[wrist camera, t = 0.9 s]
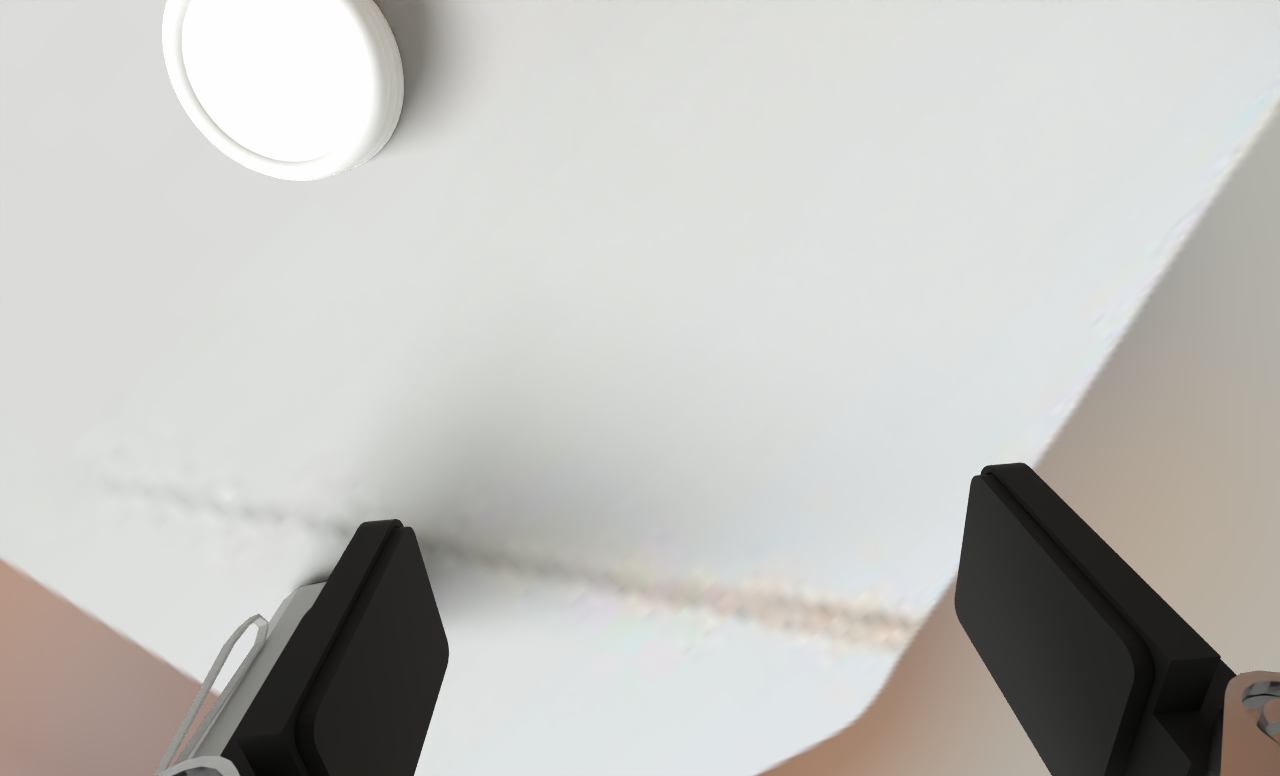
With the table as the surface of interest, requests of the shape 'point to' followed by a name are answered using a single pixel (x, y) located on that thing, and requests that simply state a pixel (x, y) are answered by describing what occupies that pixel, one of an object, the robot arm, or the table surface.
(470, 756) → the table surface
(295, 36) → the coaster
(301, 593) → the water bottle
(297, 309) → the table surface
